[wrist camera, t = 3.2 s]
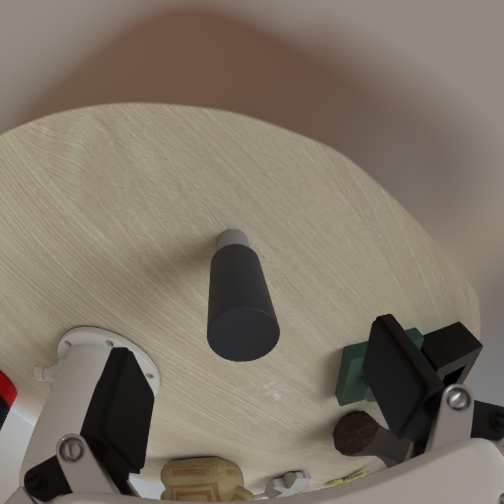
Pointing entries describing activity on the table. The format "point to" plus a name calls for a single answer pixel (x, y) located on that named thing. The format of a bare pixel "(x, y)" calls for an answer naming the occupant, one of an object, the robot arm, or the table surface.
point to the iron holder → (451, 352)
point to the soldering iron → (239, 302)
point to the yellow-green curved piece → (346, 479)
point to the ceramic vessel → (203, 481)
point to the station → (360, 372)
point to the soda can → (6, 397)
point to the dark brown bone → (369, 439)
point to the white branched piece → (285, 485)
